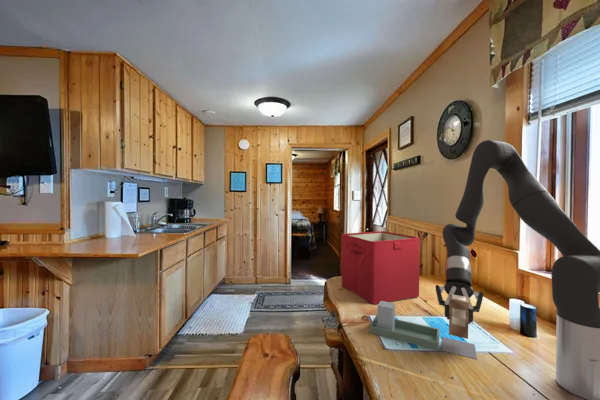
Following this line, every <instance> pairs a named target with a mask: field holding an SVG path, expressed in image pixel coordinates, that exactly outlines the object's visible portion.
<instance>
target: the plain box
mask: <svg viewBox="0 0 600 400" xmlns="http://www.w3.org/2000/svg"><path fill="white" fill-rule="evenodd" d="M377 315H378V322H377V327H379V328H383V329H387V330H391V331H394V329H395V319H396V302H395V303H394V302H385V301H380V303H379V304H377Z"/></svg>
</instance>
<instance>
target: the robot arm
mask: <svg viewBox="0 0 600 400" xmlns="http://www.w3.org/2000/svg"><path fill="white" fill-rule="evenodd" d="M490 169H494V170H495V171H497V172H498V173H499V174H500V176H501V177H502V178H503V179H504V180H505V183H506V184H507V190H508V193H507V194H508V200H509V203H510V205H511V207H512V208H513V210H514V211H515V212H516V214H517V215H518V217H519V218H520V219H521V221H522V222H524V224H525V225H527V226H528V227H529V228H531V229H532V230H534V232H536V233H538V234H539V235H541V236H542V237H543V238H545V239H546V240H548V241H549V242H550V243H551V244H553V246H555V248H556V249H557V250H558V252H560V254H561V255H562V256H561V257H558V258H557V259H556V260H555V261H554V263H553V264H552V267H551V276H550V277H551V292H552V293H551V295H552V301H553V303H554V306H555V308H556V332H555V333H556V336H555V338H556V339H555V341H556V343H555V344H556V345H555V349H556V350H555V381H556V382H557V384H558V385H559V386H560V387H561V388H563V389H564V390H566V391H567V392H568V393H571V394H573V395H576V396H577V397H580V398H582V399H585V400H600V304H599V303H600V302H599V300H600V299H599V294H600V249H599V248H598V247H597V246H596V245H595V243H593V242H591V241H590V239H588V237H587V236H585V234H584V233H583V232H582V231H581V230H580V228H578V226H577V225H576V224H575V223H574V222H573V220H572V219H571V218H570V216H568V214H567V213H565V211H564V210H563V209H562V207H561V206H560V205H559V203H558V202H557V201H556V200H555V198H554V197H553V196H552V195H551V193H550V192H549V191H548V190H547V189H546V188H545V187H544V185H542V183H541V182H540V180H538V178H537V177H536V176H535V175H534V174H533V173H532V171H530V170H529V169H528V167H527V165H526V163H525V162H524V160H523V159H522V157H521V156H520V154H519V152H518V150H517V149H516V148H515V147H514V146H513V145H512V144H510V143H509V142H506V141H500V140H491V139H486V140H483V141H481V142H479V143H478V144H477V145H476V147H475V148H474V151H473V154H472V156H471V161H470V165H469V169H468V175H467V180H466V183H465V184H466V185H465V187H464V191H463V195H462V197H461V200H460V202H459V204H458V207H457V210H456V212H455V218H456V220H458V221H459V222H461V223H464V224H466V225H465V226H461V225H458V224H454V223H449V224H446V225H445V226H444V227H443V230H442V240H443V242H444V245H445V248H446V252H447V253H446V265H445V284H444V285H443V286H442V285H441V286H440V285H438V284H435V292H436V297H437V301H438V305H439V306H442V307H444V317H445V318H446V320H448V321H449V304H450V295H452V294H453V295H460V296H465V297H468V301H469V315H468V325H471V323H472V324H473V322H474V313H480V311H481V306H482V303H483V299H484V292H482V291H479V292H478V291H475V290H474V289H473V286H472V281H473V280H472V266H471V258H470V257H471V255H470V249H469V248H468V247H469V246H471V245H472V244H473V242H474V241H475V238H476V226H477V221H478V218H479V216H480V213H481V212H482V209H483V207H484V203H485V189H484V186H485V179H486V177H487V174H488V172H489V170H490ZM443 292H445V293H446V295H447V297H446V299H445V300H444V299H443V295H442V294H443ZM472 296H474V298H475V300H476V303H475V305H473V304H472V301H471V299H470V298H472Z"/></svg>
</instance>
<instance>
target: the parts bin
mask: <svg viewBox="0 0 600 400" xmlns="http://www.w3.org/2000/svg"><path fill="white" fill-rule="evenodd" d="M377 322H378V314H375V317H373V320H372V321H371V322H370V324H369V329H368V330H369V334H374V335H377V336H381V337H384V338H388V339H392V340H396V341H401V342H403V343H408V344H411V345H415V346H418V347H423V348H427V349H430V350H434V351H439V344H440V330H441V329H440V328H436V327H432V326H428V325H423V324H419V323H414V322H410V321H405V320H401V319H396V318H395V329H394V331H391V330H387V329H383V328H379V327H377Z"/></svg>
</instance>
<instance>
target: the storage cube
mask: <svg viewBox="0 0 600 400" xmlns="http://www.w3.org/2000/svg"><path fill="white" fill-rule="evenodd" d="M341 287H342V288H345V289H346V290H348V291H351V292H352V293H353V294H354V295H357V296H358V297H360V298H362V299H363V300H364V301H365V302H367V303H369V304H370V305H372V306H378V304H379V303H380V301H385V302H390V303H394V302H397V301H404V300H408V299H414V298H418V297H419V296H420V237H418V236H412V235H407V234H406V235H405V234H402V233H397V232H396V233H395V232H391V231H385V230H383V231H378V230H377V231H364V232H363V231H362V232H350V233H349V232H348V233H341Z"/></svg>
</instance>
